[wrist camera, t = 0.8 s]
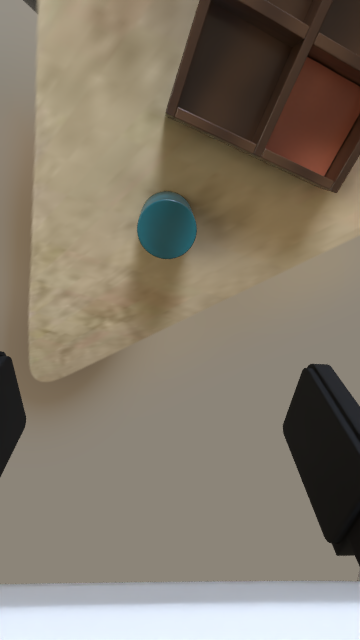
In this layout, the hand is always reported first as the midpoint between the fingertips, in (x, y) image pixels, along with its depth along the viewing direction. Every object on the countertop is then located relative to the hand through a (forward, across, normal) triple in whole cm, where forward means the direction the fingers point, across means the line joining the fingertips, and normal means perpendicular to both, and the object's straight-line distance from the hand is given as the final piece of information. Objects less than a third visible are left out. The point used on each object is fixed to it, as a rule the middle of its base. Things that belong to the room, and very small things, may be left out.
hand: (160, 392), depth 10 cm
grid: (+18, -8, -13) cm, 23 cm away
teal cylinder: (+18, 0, -2) cm, 18 cm away
